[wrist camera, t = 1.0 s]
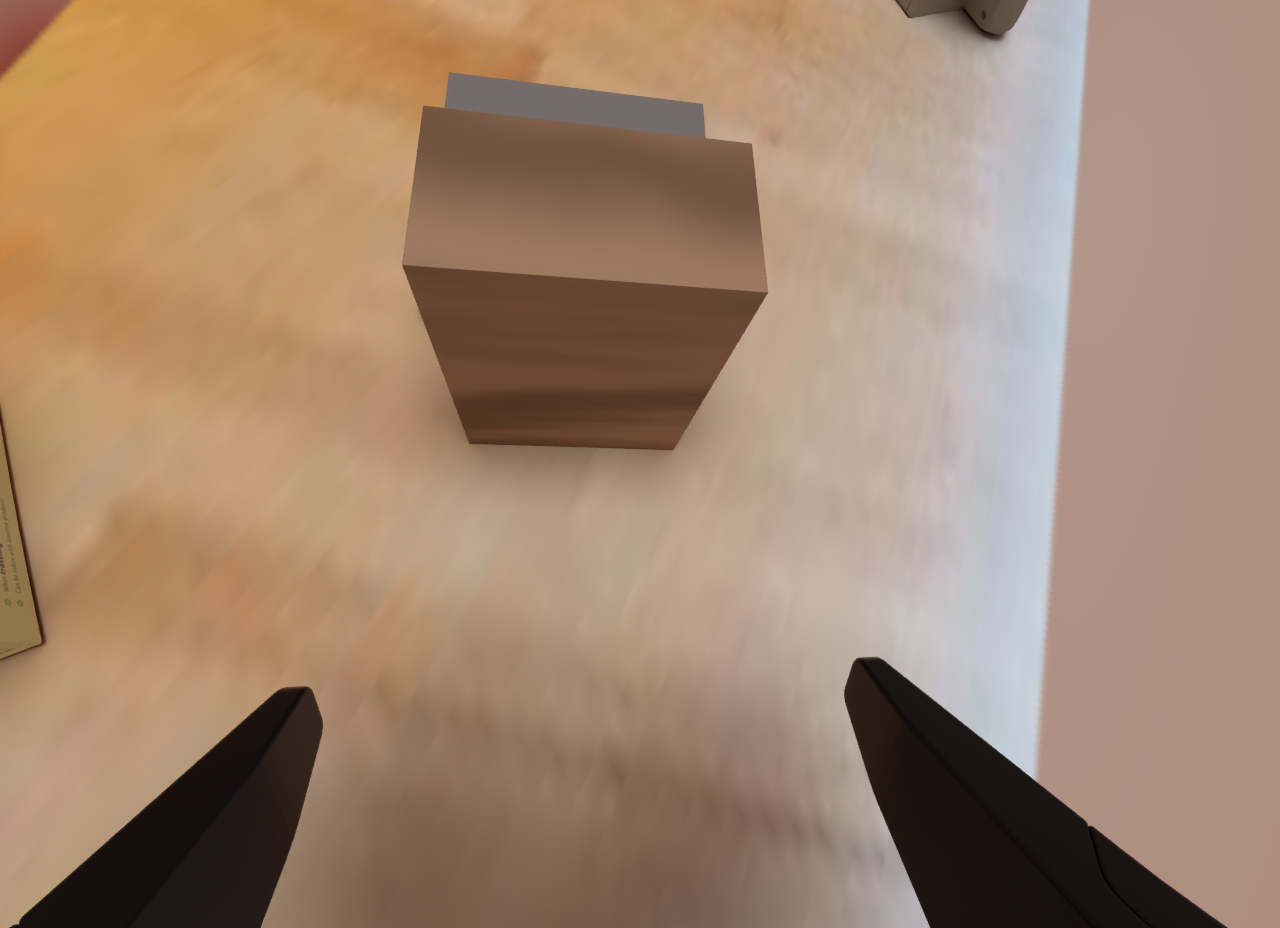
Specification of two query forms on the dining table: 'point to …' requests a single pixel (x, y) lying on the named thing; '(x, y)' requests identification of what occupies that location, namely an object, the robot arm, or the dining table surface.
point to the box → (13, 576)
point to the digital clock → (972, 11)
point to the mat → (574, 105)
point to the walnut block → (580, 274)
